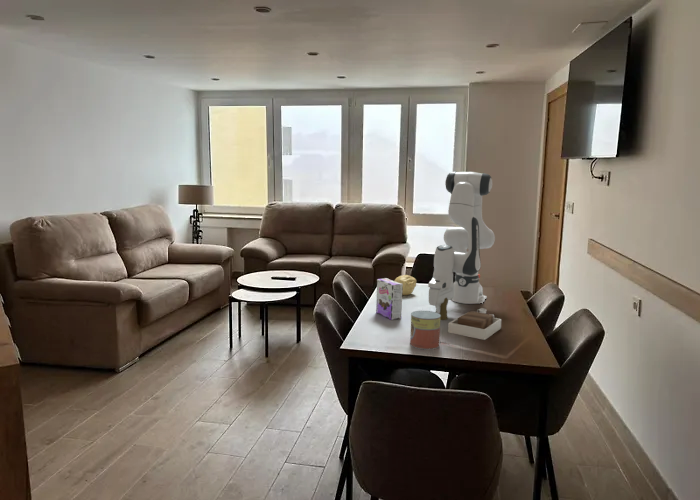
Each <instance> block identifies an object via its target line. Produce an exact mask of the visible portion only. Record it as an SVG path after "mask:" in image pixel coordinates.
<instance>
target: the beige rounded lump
mask: <svg viewBox="0 0 700 500" xmlns="http://www.w3.org/2000/svg"><path fill="white" fill-rule="evenodd" d="M394 281H395V282H398V283H401V284H403V290H402V296H408V295H412V294H413V293H414V290H415V287H416V286H417V279H416V278H415V277H413V276H411V275H409V274H404V275H399V276H398V277H396V278H395V279H394Z"/></svg>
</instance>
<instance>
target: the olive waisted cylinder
mask: <svg viewBox="0 0 700 500" xmlns="http://www.w3.org/2000/svg"><path fill="white" fill-rule="evenodd" d="M447 302H448V303H449V300H448V299H447V298H445V299H444V302H443V303H441V306H440V309H441V313H439V314H440V315H441V317H440V321H447V320H448V304H447ZM446 304H447V306H446Z"/></svg>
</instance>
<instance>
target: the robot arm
mask: <svg viewBox="0 0 700 500" xmlns="http://www.w3.org/2000/svg"><path fill="white" fill-rule="evenodd" d="M444 182H445V183H444V184H445V189H446V191H447V193H450V195H451V196H450V199H449V205H448V209H447V210H448V211H447V214H448V217H449V220H450V221H452V223H453V224H455V225H457V226H453V227H452V226H451V227H447V229H446V230H445V232H444V234H443V241H444V243H445V244H440V245H437V247H435V250H434V255H433V267H434V268H433V274H432V278H431V280H429V282H428V286H427V287H428V288H429V289H428V304H429V305H430V306H433V307H435V312H436V313H441V309H440V306H441V303H443V302H444V299H445V298H447V299H448V302H447V304H446V306H447V307H448V304H449V301H450V300H451V301H453V302H455V303H458V304H459V303H460V304H464V305H465V304H467V305H468V304H470V305H473V304H480V303H482V304H484V303H485V302H486V300H487V298H488V297H487V295H484V294H483V292H484V291H483V290H484V289H483V286H482V285H481V283H480V278H481V274H480V273H479V271H480V270H481V263H482V261H481V256H480V255H481V253H480V250H484V249H490V248H492V247H493V246H494V244H495V241H496V235H495V233H494V231H493V230H492V229H491V228H489V227H488V226H487V225H486V223H485V221H484V218H483V196H487V195H488V194H490V192H491V190H492V188H493V178H492V176H491V174H489V173H484V172H483V173H480V172H476V171H451V172H449V173H448V174H447V175H446V177H445V181H444ZM467 250H468V251H467ZM454 273H455V274H454ZM454 275H455V276H454ZM485 299H486V300H485ZM483 302H484V303H483Z"/></svg>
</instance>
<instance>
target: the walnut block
mask: <svg viewBox="0 0 700 500" xmlns="http://www.w3.org/2000/svg"><path fill="white" fill-rule="evenodd" d="M491 314H492V313H486V314H485V313H480V311H478V312H477V311H475V310H470V311H468V312H466V314H465V313H464V314H462V315H460V316H458V317H459V318H458V317H457V318H458V324H460V325H465V326H470V327H475V328H480V329H485V328H487V327H488V326H490V325H491V324H493V318H494V317H493V315H494V314H493V315H491Z"/></svg>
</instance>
